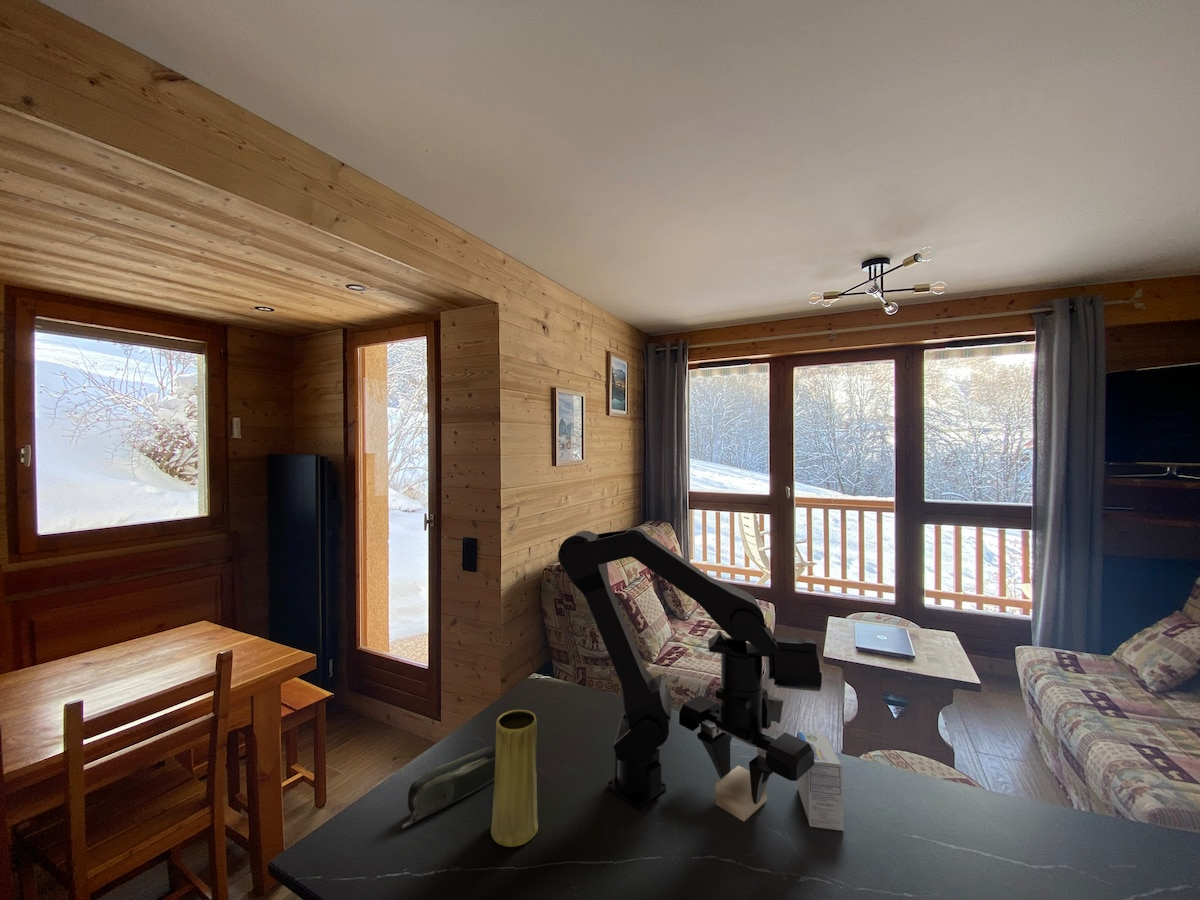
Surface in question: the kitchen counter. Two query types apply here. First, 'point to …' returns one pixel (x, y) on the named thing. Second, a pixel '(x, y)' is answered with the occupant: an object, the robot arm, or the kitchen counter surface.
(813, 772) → the medicine box
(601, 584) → the robot arm
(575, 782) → the kitchen counter surface
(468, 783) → the stapler
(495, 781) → the vase
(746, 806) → the beech block
